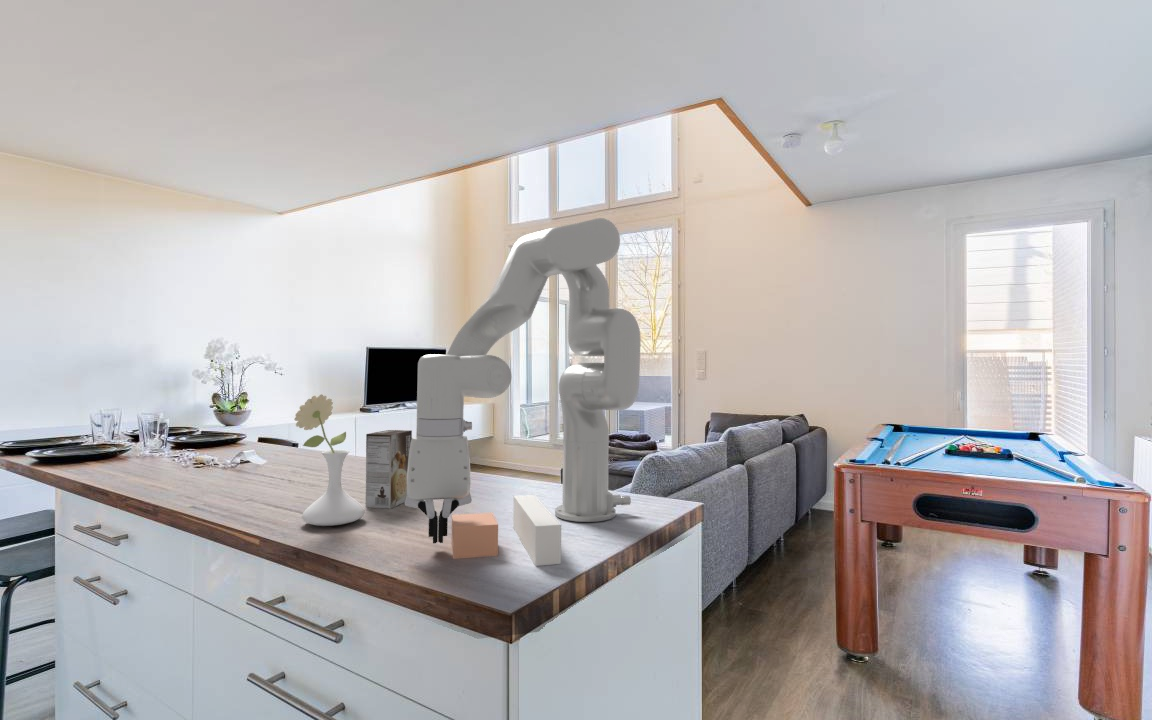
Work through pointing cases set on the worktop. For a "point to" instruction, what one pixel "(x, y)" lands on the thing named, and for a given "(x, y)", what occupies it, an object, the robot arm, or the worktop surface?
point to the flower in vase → (334, 502)
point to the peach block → (474, 535)
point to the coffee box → (387, 468)
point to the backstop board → (537, 530)
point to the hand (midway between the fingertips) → (437, 540)
